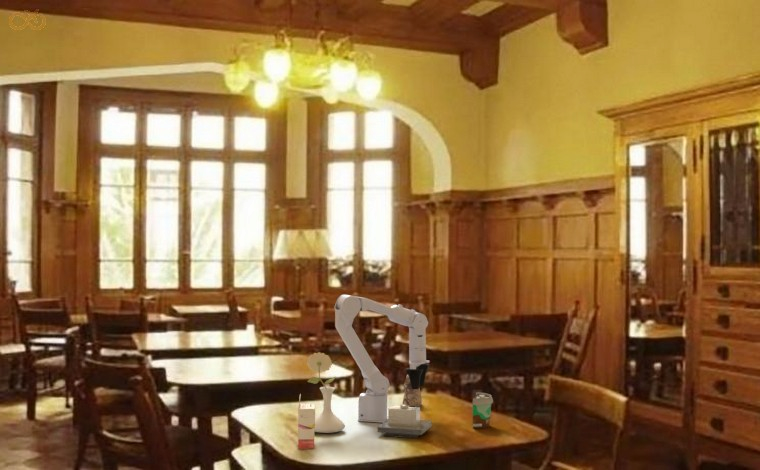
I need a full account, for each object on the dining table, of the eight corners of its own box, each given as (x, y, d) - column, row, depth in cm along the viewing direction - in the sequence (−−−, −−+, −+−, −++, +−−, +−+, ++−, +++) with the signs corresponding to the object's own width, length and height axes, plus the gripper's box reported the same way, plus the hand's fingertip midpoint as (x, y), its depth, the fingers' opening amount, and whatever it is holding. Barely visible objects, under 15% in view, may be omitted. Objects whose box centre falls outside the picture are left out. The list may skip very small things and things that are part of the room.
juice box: (315, 449, 246) (315, 398, 246) (297, 449, 245) (298, 398, 245) (314, 442, 254) (315, 393, 254) (298, 442, 254) (298, 393, 254)
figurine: (401, 403, 316) (401, 370, 316) (420, 402, 317) (420, 370, 317) (403, 406, 309) (404, 373, 309) (423, 406, 310) (423, 373, 310)
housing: (416, 426, 263) (416, 407, 263) (387, 424, 265) (388, 406, 265) (420, 423, 268) (420, 404, 268) (392, 421, 270) (392, 402, 270)
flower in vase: (350, 429, 272) (350, 351, 272) (337, 437, 261) (337, 355, 261) (313, 426, 276) (313, 349, 276) (298, 433, 265) (298, 353, 265)
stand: (377, 436, 261) (377, 427, 262) (389, 427, 275) (389, 417, 275) (421, 440, 258) (421, 430, 258) (431, 430, 271) (431, 420, 271)
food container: (491, 430, 271) (491, 399, 271) (472, 429, 272) (472, 398, 272) (494, 422, 283) (494, 392, 283) (475, 421, 284) (476, 391, 284)
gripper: (424, 350, 282) (424, 391, 282) (433, 345, 296) (434, 384, 296) (403, 350, 284) (404, 390, 284) (413, 344, 298) (414, 383, 298)
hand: (418, 387), depth 290 cm, fingers open, 7 cm apart
